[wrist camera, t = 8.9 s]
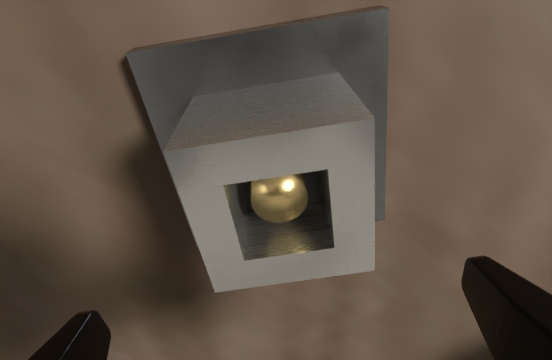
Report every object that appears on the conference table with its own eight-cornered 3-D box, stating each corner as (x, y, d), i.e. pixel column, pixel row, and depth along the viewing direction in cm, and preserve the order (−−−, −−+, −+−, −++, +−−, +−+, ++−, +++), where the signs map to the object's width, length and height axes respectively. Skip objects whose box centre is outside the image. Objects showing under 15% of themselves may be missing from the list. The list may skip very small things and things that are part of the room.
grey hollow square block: (338, 72, 14) (374, 118, 9) (345, 194, 17) (374, 270, 12) (192, 96, 14) (163, 151, 10) (226, 212, 17) (215, 292, 13)
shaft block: (380, 5, 13) (437, 21, 9) (378, 208, 19) (414, 278, 14) (133, 48, 14) (77, 82, 9) (199, 234, 19) (182, 310, 15)
